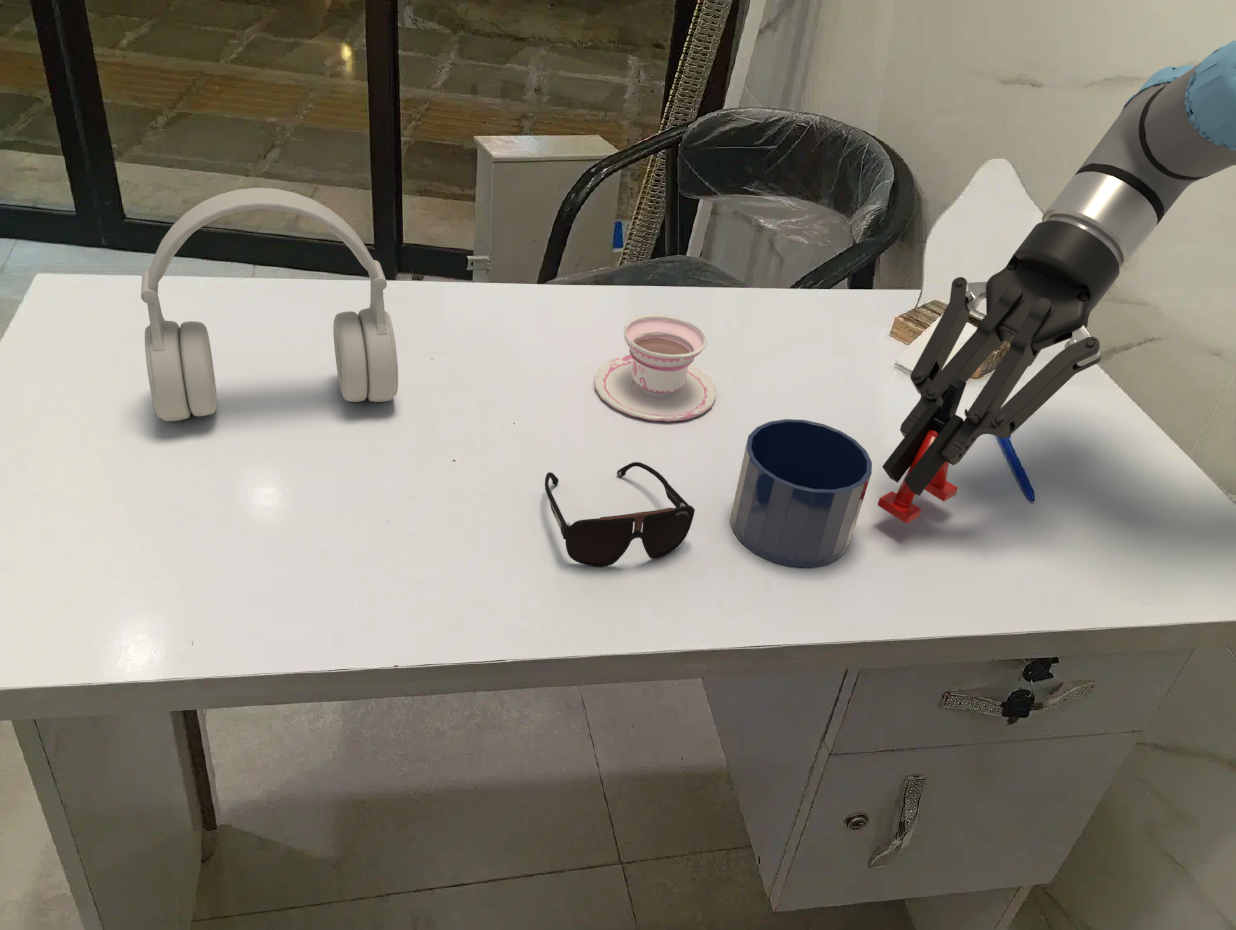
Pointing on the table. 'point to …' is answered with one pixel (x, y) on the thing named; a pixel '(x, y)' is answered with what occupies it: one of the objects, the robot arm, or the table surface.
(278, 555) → the table surface
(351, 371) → the headphones
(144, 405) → the table surface
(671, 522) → the sunglasses
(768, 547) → the pen cup
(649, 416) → the teacup
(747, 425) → the table surface
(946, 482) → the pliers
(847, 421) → the table surface
